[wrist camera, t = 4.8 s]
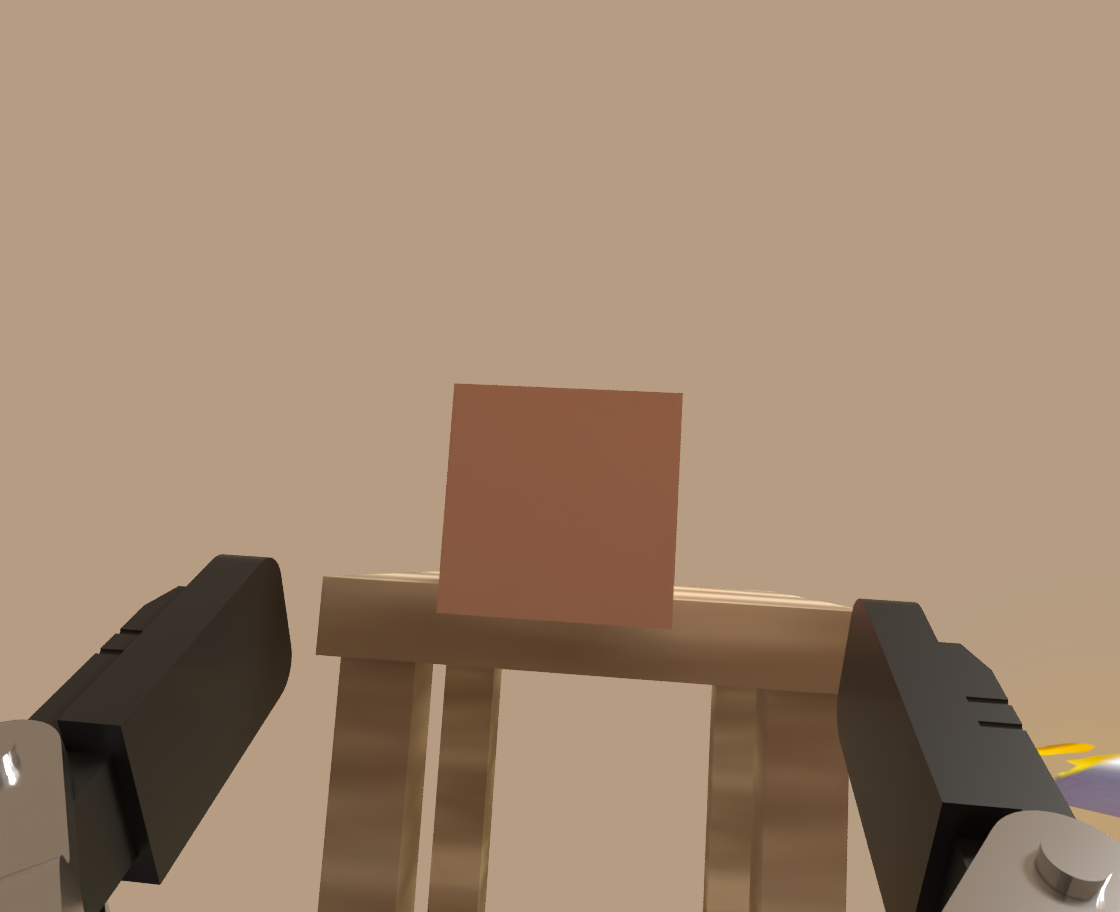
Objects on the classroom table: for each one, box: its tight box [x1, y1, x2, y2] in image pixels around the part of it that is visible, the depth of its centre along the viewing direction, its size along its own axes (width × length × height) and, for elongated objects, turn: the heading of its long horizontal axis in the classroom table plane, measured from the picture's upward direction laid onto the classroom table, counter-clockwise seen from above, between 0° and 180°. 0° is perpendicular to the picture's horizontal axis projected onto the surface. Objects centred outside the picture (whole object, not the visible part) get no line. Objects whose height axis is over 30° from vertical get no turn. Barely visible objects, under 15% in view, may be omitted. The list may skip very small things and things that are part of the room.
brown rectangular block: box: [437, 384, 683, 629], centre depth 24 cm, size 26×3×3 cm, turn 175°
